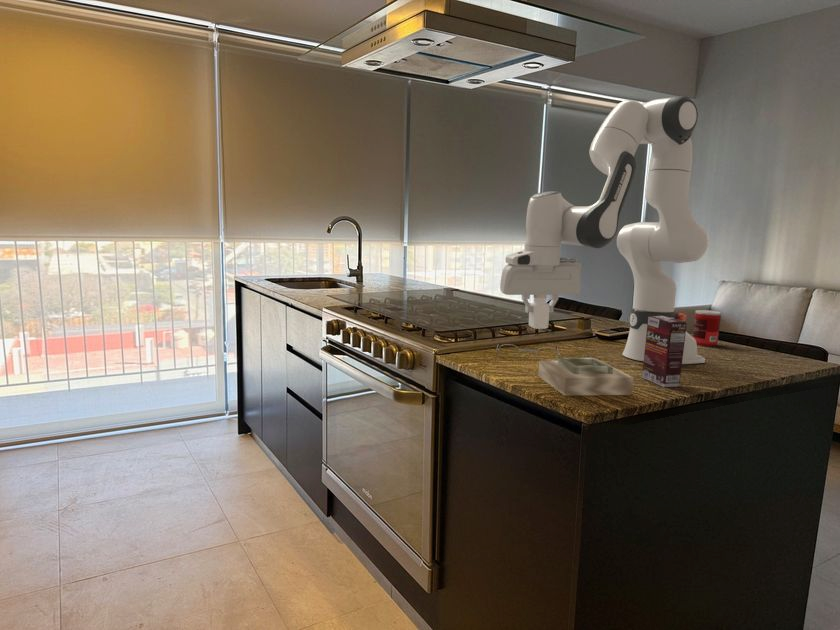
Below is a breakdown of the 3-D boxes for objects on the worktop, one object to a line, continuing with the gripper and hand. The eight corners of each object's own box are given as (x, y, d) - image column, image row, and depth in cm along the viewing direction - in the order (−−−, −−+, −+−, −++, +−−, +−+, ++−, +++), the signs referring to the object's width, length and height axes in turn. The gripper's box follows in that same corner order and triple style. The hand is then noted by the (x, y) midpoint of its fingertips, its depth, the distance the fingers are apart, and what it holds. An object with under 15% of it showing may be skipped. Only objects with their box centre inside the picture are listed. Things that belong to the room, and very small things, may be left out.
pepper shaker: (527, 326, 149) (529, 289, 147) (541, 326, 150) (543, 289, 148) (534, 329, 145) (536, 291, 144) (549, 328, 146) (551, 291, 145)
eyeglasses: (495, 357, 164) (495, 343, 163) (498, 346, 182) (498, 333, 182) (560, 362, 161) (561, 348, 160) (556, 350, 179) (557, 337, 179)
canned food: (718, 343, 195) (722, 311, 193) (715, 347, 188) (719, 314, 187) (693, 340, 199) (697, 309, 197) (690, 344, 193) (693, 311, 191)
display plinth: (599, 376, 146) (601, 354, 145) (631, 394, 130) (634, 371, 129) (538, 376, 143) (539, 354, 142) (564, 395, 128) (566, 371, 127)
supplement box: (640, 378, 145) (646, 315, 143) (657, 377, 147) (663, 315, 144) (663, 387, 137) (670, 321, 135) (680, 387, 139) (688, 321, 136)
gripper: (576, 257, 149) (572, 310, 152) (499, 256, 146) (497, 310, 149) (587, 258, 143) (583, 314, 146) (507, 258, 140) (504, 314, 142)
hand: (539, 312), depth 147 cm, fingers closed on pepper shaker, 4 cm apart
